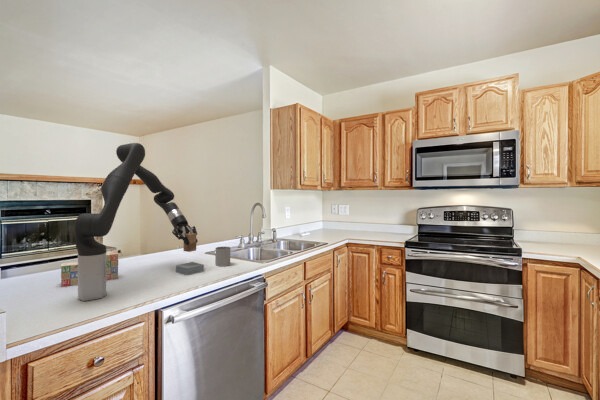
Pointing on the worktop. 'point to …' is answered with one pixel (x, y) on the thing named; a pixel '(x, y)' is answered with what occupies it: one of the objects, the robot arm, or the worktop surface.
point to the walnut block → (192, 240)
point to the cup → (222, 256)
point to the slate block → (189, 268)
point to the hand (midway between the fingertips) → (192, 243)
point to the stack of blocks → (71, 270)
